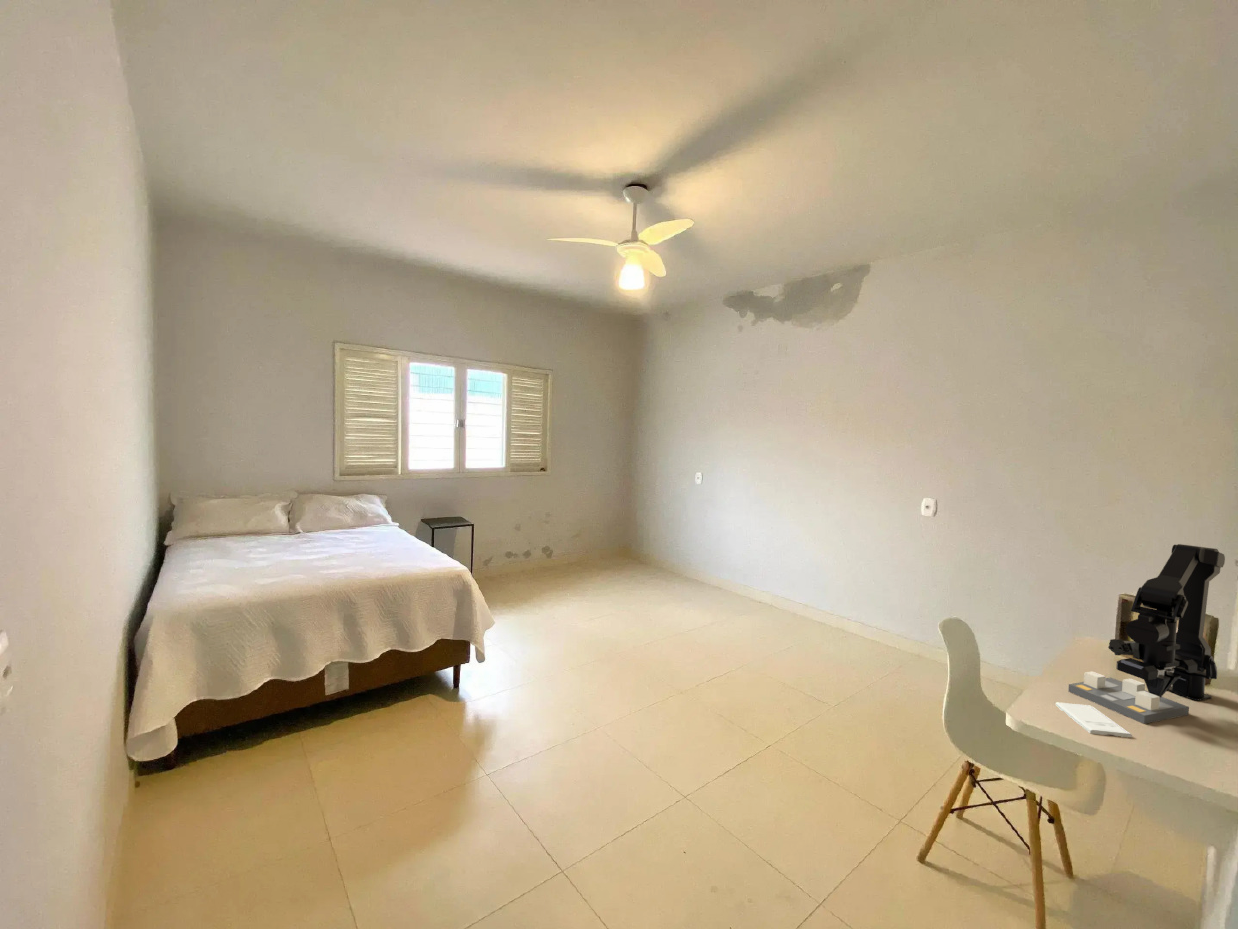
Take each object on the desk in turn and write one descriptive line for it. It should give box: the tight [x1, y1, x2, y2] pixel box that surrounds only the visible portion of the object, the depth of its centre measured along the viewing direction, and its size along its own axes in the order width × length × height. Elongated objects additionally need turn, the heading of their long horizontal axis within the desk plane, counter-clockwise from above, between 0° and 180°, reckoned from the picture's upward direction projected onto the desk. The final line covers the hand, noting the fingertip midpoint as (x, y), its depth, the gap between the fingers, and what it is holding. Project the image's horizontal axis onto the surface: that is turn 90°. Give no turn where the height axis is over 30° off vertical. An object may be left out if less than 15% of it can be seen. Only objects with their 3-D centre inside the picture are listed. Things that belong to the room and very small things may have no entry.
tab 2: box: [1122, 678, 1146, 696], centre depth 131 cm, size 3×3×3 cm
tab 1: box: [1083, 670, 1107, 689], centre depth 135 cm, size 3×3×3 cm
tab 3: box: [1135, 690, 1160, 710], centre depth 124 cm, size 3×3×3 cm
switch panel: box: [1068, 676, 1190, 724], centre depth 130 cm, size 16×16×2 cm
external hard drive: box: [1055, 701, 1133, 739], centre depth 121 cm, size 2×8×12 cm
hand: (1154, 699), depth 125 cm, fingers closed
